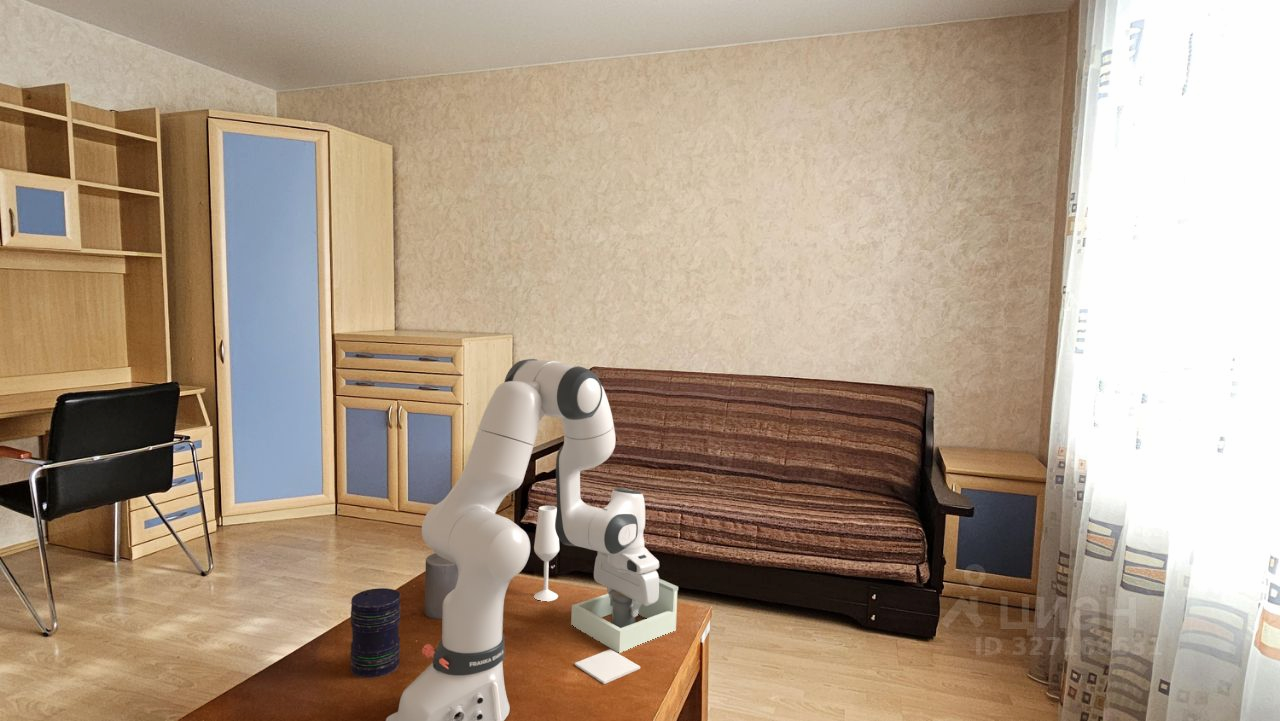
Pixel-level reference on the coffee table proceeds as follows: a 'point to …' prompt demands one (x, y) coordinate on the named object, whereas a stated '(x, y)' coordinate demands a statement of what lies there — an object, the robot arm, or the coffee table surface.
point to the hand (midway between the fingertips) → (623, 610)
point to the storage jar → (375, 632)
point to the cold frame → (622, 639)
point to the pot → (621, 610)
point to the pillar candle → (438, 584)
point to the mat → (607, 666)
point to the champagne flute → (546, 546)
